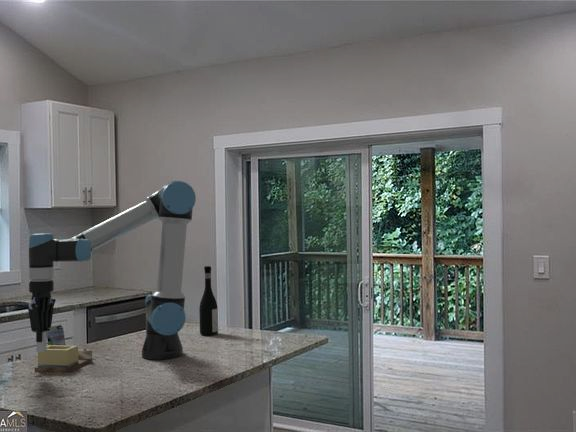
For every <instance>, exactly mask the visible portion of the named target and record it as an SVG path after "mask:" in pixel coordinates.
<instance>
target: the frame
mask: <svg viewBox="0 0 576 432" xmlns="http://www.w3.org/2000/svg"><path fill="white" fill-rule="evenodd" d="M78 350H79V346H78V345H66V344H65V345H49V346H48V345H47V351H45V352H37V367H54V368H68V367H70V366H73V365H75V364H77V363H78Z"/></svg>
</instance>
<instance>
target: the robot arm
mask: <svg viewBox="0 0 576 432" xmlns="http://www.w3.org/2000/svg"><path fill="white" fill-rule="evenodd" d="M196 202H197V201H196V191H195V190H194V189H193V187H192V186H191V185H190V184H189V183H187V182H185V181H181V180H174V181H173V180H172V181H170V182H168V183H167V184H165V185H163V186H162V187H161V188H159V189H158V190H156V191H155V192H154V193H151V194H150V195H149V196H147V197H146V198H145V201H143V202H141V203H138V204H136V205H135V206H132V207H130V208H129V209H126V210H124V211H123V212H121V213H118V214H117V215H114V216H112V217H111V218H109V219H107V220H105V221H103V222H101V223H99V224H97V225H95V226H92V227H90V228H88V229H86V230H84V231H83V232H81V233H79V234H76V235H75V236H73V237H69V238H67V239H66V238H64V239H57V238H55V237H54V234H53V233H33V234H30V236H29V238H28V239H29V240H28V241H29V242H28V267H29V268H28V274H29V275H28V279H29V282H28V291H29V293H31V301H30V302H29V303H28V302H27V303H26V305H25V306H26V308H27V310H28V311H27V312H28V317H29V322H30V329H31V330H30V331H31V332H33V333H36V334H35V340H36V352H37V353H38V352H45V351H47V346H48V340H47V331H50V329H48V328H51V326H52V324H53V323H52V322H53V317H54V316H53V315H54V309H55V308H54V307H55V303H56V300H57V299H56V298H52V294H51V292H54V288H55V287H54V286H55V285H54V281H53V279H54V277H55V275H54V274H55V273H54V264H55V262H57V263H58V262H86V261H90V260H91V258H92V252H93V251H95V250H96V249H99V248H101V247H102V246H105V245H106V244H109V243H110V242H112V241H114V240H116V239H119V238H120V237H122V236H125V235H126V234H128V233H130V232H132V231H135V230H136V229H137V228H140V227H143V225H146V224H147V223H150V222H151V221H154V220H157V221H161V224H162V226H161V234H160V235H161V237H160V248H159V260H158V261H159V262H158V271H157V282H156V283H157V284H156V290H155V291H154V292H153V293H152V294H148V295H146V297H145V301H144V305H145V338H144V342H143V344H142V348H141V358H143V359H146V360H167V359H169V360H170V359H174V358H178V357H181V356H183V355H184V353H183V352H184V348H183V344H182V342H181V340H180V337H179V332H180V331H181V330H182V329H183V327H184V326H185V323H186V312H185V303H186V301H185V300H186V295H185V294H184V293H183V292H182V285H183V274H184V264H185V263H184V261H185V250H186V238H187V226H188V224H190V222H192V219H193V208H194V207H195V205H196Z"/></svg>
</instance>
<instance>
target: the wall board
mask: <svg viewBox="0 0 576 432" xmlns="http://www.w3.org/2000/svg"><path fill="white" fill-rule="evenodd" d="M92 362H93V349H87V348H83V349H78V363H77V364H75V365H73V366H70V367H68V368H54V367H38V366H35V367H34V372H45V373H46V372H49V373H50V372H51V373H54V372H55V373H72V372H73V371H76V370H78V369H80V368H82V367H83V366H86V365H88V364H90V363H92Z"/></svg>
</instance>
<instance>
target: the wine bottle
mask: <svg viewBox="0 0 576 432" xmlns="http://www.w3.org/2000/svg"><path fill="white" fill-rule="evenodd" d="M203 268H204V291H203V294H202V297H201V299H200V301H199V302H200V303H199V333H200V335H201V336H205V337H211V336H215V335H218V332H219V312H218V303H217V300H216V298H215V295H214V293H213V289H212V266H209V265H206V266H203Z"/></svg>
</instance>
